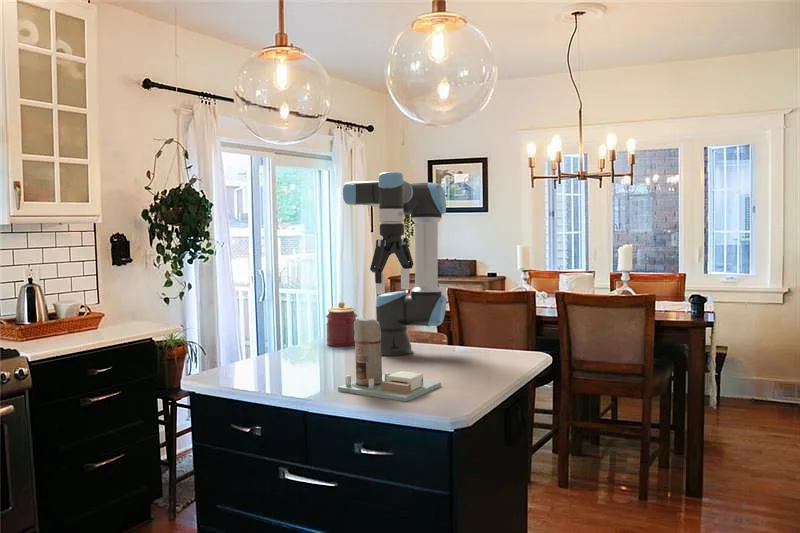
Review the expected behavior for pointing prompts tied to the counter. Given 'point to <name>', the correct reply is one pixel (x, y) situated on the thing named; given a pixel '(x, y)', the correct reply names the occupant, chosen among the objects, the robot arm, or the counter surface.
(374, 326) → the spray can
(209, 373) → the counter surface
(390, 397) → the board
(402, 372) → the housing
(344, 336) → the canister
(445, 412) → the counter surface
